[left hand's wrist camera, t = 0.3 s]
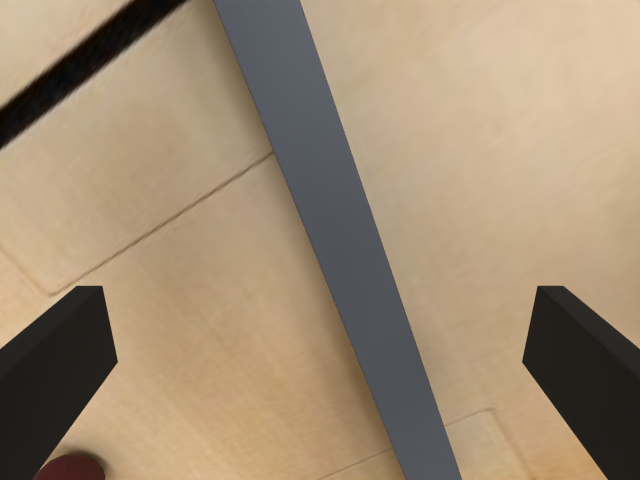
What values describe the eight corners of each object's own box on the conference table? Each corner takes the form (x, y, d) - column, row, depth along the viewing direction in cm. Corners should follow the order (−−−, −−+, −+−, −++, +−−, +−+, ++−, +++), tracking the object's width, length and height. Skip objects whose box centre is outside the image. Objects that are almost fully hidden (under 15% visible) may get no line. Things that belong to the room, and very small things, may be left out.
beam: (194, -92, 30) (150, -156, 22) (256, -121, 30) (233, -196, 22) (418, 482, 51) (437, 557, 43) (458, 472, 50) (484, 546, 42)
